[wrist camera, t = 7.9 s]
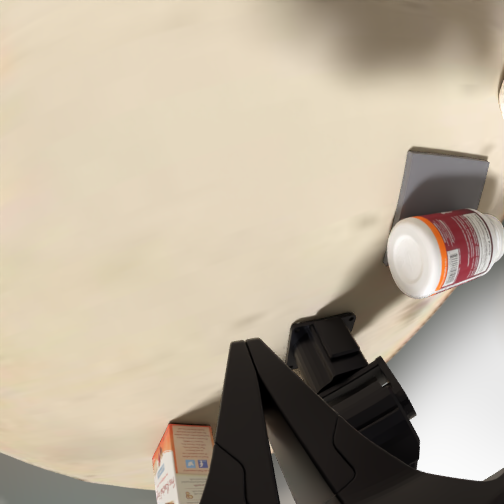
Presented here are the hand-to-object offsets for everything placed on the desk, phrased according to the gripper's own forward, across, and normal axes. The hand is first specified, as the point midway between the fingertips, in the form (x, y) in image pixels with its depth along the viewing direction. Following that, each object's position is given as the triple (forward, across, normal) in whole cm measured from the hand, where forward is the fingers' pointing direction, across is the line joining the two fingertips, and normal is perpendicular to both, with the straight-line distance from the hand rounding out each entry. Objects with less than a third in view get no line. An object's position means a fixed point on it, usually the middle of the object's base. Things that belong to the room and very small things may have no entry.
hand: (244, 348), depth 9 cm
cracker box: (+12, +7, +35) cm, 38 cm away
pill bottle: (+8, -14, +5) cm, 17 cm away
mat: (+12, -20, +2) cm, 24 cm away
